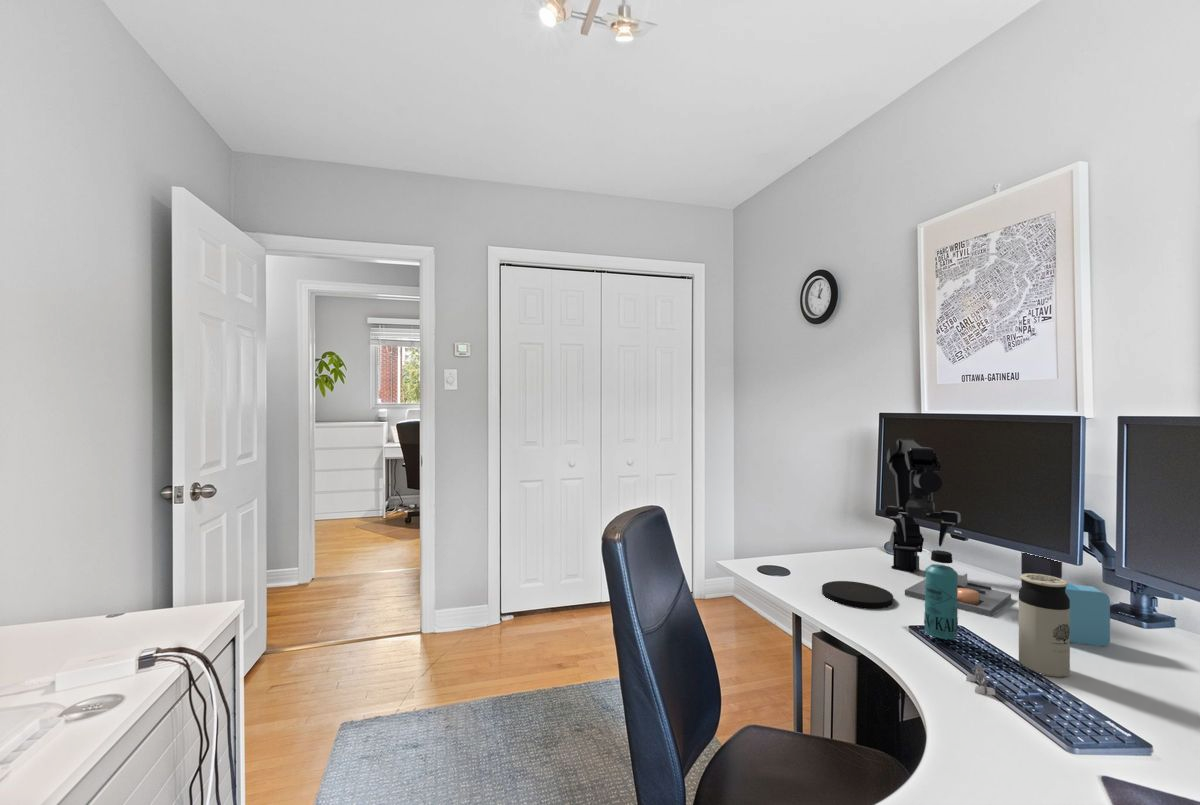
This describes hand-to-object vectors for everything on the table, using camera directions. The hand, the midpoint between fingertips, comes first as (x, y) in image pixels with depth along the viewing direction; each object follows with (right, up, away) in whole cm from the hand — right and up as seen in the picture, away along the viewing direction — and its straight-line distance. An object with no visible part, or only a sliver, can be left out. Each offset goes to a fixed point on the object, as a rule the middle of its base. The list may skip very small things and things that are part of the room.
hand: (921, 543), depth 158 cm
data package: (+13, -13, -35) cm, 40 cm away
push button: (+4, -12, -15) cm, 19 cm away
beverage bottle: (-17, -12, -36) cm, 42 cm away
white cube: (+9, -11, -2) cm, 15 cm away
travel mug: (-5, -12, -49) cm, 51 cm away
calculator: (+33, -13, -3) cm, 36 cm away
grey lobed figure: (-24, -13, -61) cm, 67 cm away
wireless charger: (-23, -13, -8) cm, 28 cm away
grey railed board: (+5, -13, -8) cm, 16 cm away
